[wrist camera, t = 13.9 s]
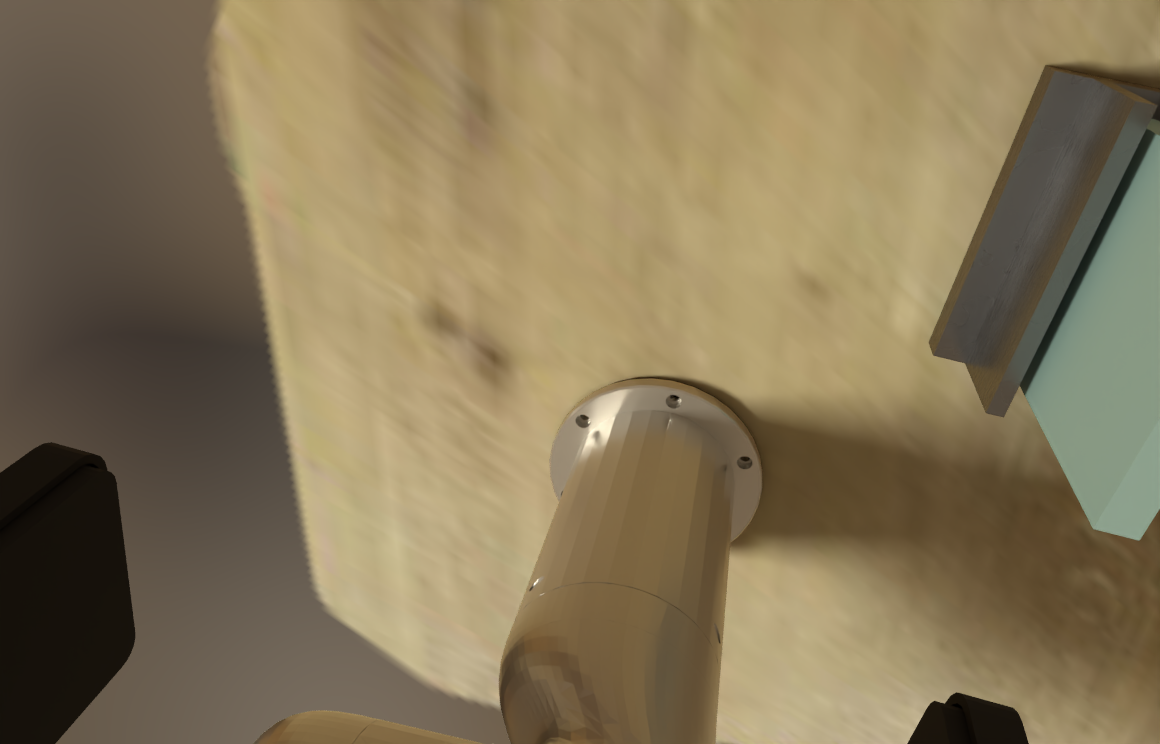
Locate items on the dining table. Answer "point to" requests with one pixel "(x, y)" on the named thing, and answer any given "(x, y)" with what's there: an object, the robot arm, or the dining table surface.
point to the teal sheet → (1109, 359)
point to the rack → (1039, 225)
